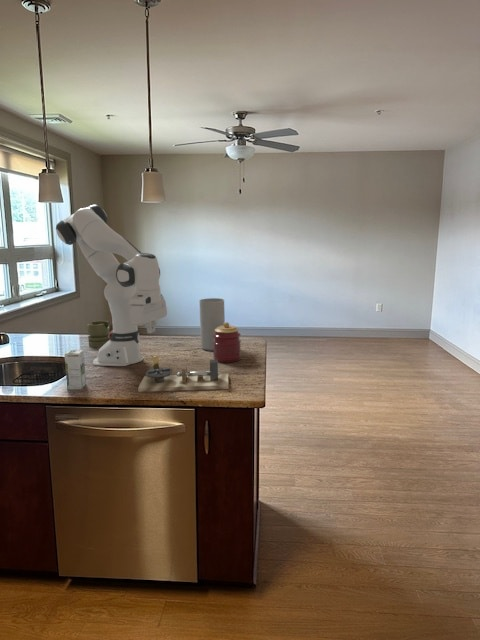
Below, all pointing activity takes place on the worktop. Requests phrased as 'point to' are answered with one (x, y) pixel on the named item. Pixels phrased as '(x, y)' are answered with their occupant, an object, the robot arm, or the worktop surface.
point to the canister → (226, 343)
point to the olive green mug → (98, 333)
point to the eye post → (184, 373)
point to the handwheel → (158, 370)
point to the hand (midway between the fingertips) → (151, 332)
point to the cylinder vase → (210, 320)
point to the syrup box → (75, 369)
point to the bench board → (176, 384)
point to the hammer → (212, 373)
